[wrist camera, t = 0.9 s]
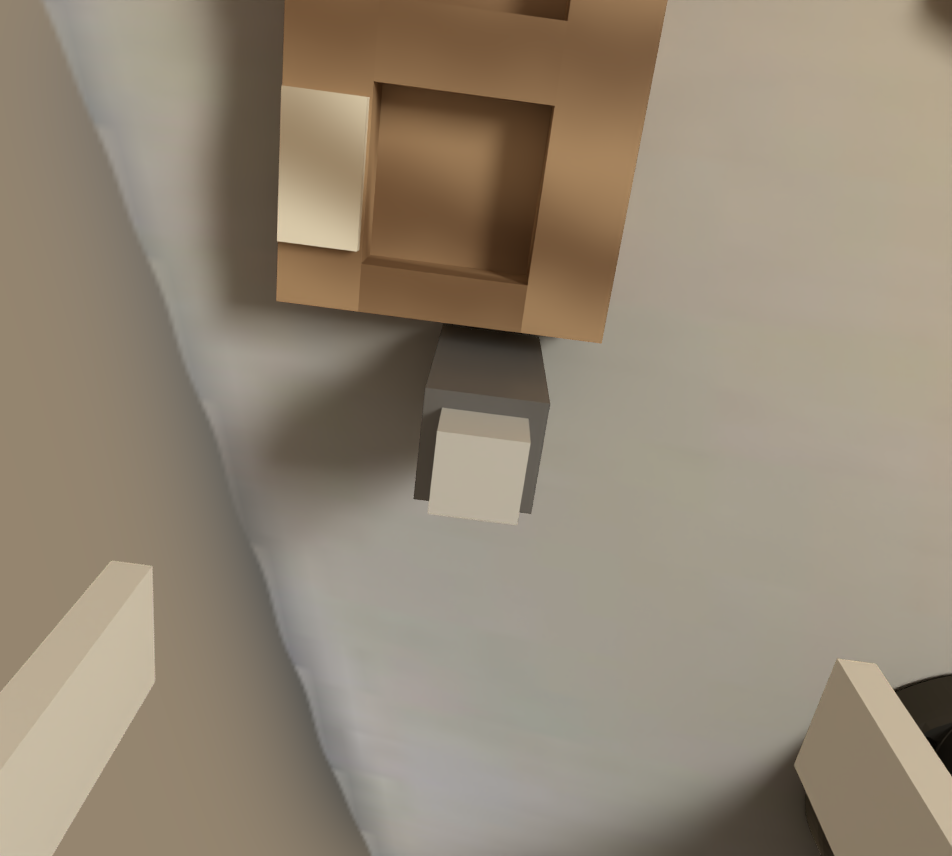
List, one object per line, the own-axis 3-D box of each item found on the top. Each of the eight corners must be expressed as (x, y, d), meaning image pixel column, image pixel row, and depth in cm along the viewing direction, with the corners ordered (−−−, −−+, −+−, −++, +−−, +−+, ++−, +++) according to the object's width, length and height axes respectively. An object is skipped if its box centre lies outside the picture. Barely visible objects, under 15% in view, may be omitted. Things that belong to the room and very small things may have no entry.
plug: (524, 425, 34) (533, 544, 24) (433, 414, 33) (406, 528, 24) (539, 336, 32) (553, 426, 23) (443, 324, 32) (419, 409, 23)
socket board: (591, 320, 32) (603, 346, 28) (299, 281, 31) (272, 304, 28) (691, -223, 25) (724, -282, 21) (321, -275, 25) (289, -345, 21)
